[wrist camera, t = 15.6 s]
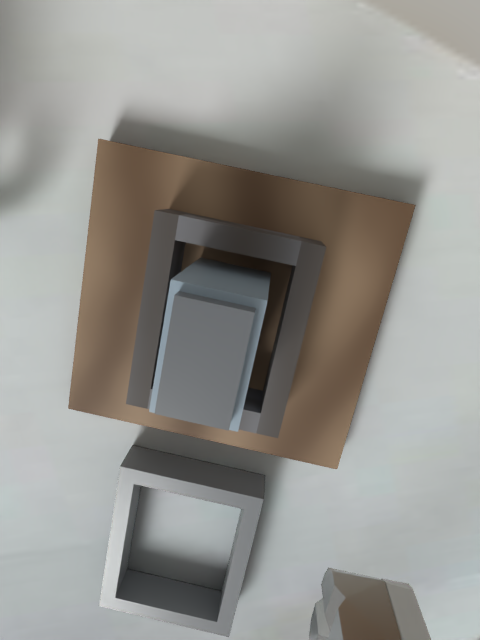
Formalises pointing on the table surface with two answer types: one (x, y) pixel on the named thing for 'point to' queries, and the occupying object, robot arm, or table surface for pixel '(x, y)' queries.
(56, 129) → the table surface
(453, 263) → the table surface
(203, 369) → the plug
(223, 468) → the grey rectangular frame
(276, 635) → the table surface
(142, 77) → the table surface
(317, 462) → the dock
